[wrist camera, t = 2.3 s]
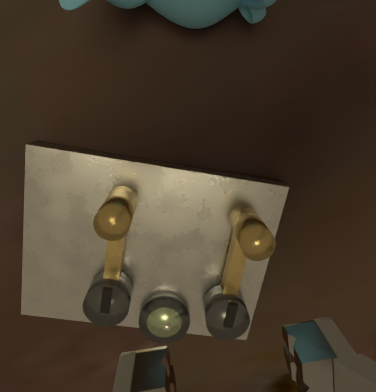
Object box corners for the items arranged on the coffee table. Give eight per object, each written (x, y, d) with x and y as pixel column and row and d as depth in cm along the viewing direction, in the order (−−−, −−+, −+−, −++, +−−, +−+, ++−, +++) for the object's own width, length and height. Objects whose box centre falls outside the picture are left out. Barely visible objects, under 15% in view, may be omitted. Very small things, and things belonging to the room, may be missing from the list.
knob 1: (101, 182, 28) (84, 203, 23) (147, 189, 28) (141, 211, 23) (89, 302, 31) (72, 344, 26) (130, 307, 32) (121, 349, 27)
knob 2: (225, 201, 29) (236, 226, 24) (268, 208, 29) (288, 233, 24) (199, 316, 32) (204, 359, 27) (238, 320, 33) (250, 363, 28)
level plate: (35, 140, 29) (16, 147, 25) (282, 181, 31) (295, 192, 28) (29, 305, 34) (13, 329, 30) (241, 330, 36) (248, 355, 33)
